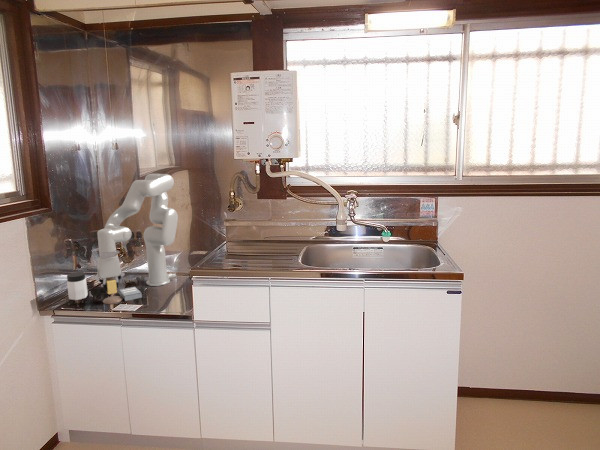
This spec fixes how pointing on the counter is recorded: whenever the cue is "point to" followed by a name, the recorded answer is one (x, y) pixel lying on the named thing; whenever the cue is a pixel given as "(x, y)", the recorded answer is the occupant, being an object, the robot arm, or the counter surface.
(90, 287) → the counter surface
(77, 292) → the jar
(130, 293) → the gray flat block
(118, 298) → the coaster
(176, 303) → the counter surface
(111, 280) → the stub
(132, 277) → the counter surface
